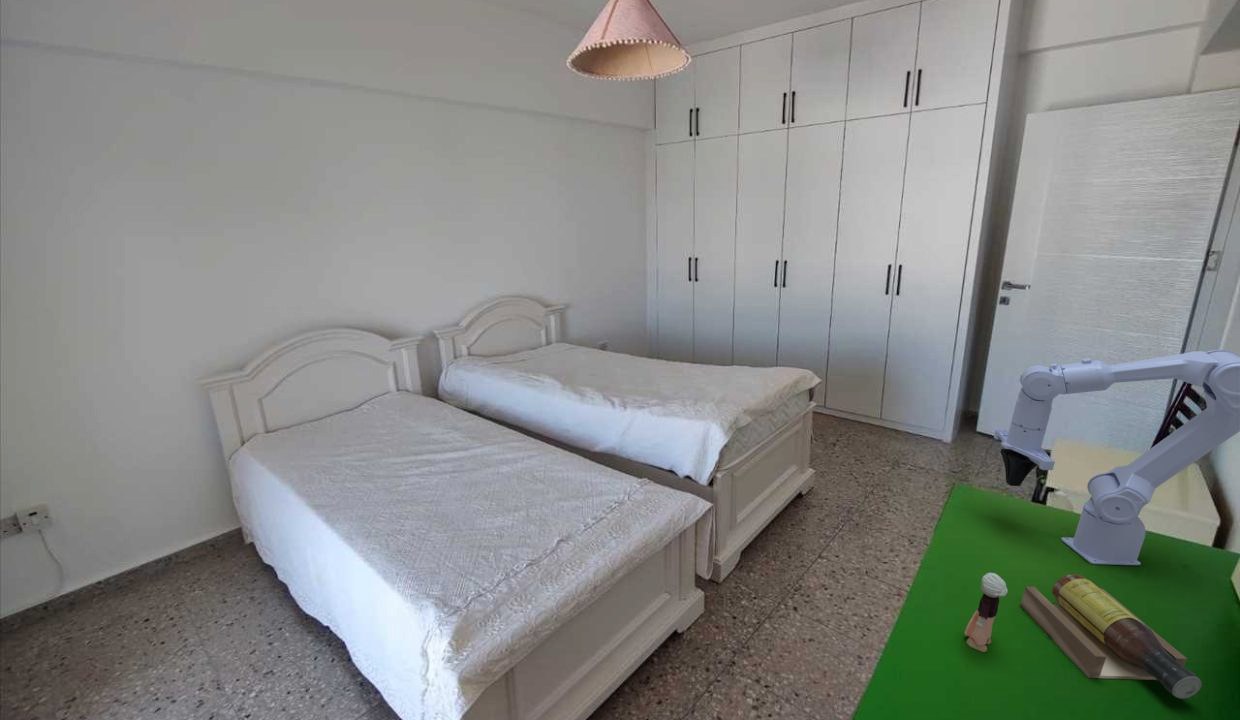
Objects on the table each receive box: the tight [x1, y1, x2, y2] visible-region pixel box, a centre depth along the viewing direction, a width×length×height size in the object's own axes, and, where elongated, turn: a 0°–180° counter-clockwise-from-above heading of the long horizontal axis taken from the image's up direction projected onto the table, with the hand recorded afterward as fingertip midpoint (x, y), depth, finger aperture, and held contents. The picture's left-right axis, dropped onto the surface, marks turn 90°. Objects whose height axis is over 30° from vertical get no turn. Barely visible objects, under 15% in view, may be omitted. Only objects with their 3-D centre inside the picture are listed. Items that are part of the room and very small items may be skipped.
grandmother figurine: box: [964, 572, 1009, 653], centre depth 83 cm, size 8×4×13 cm, turn 141°
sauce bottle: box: [1051, 573, 1202, 699], centre depth 82 cm, size 6×6×20 cm
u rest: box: [1019, 586, 1188, 681], centre depth 85 cm, size 13×14×4 cm
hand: (1013, 484), depth 112 cm, fingers closed
